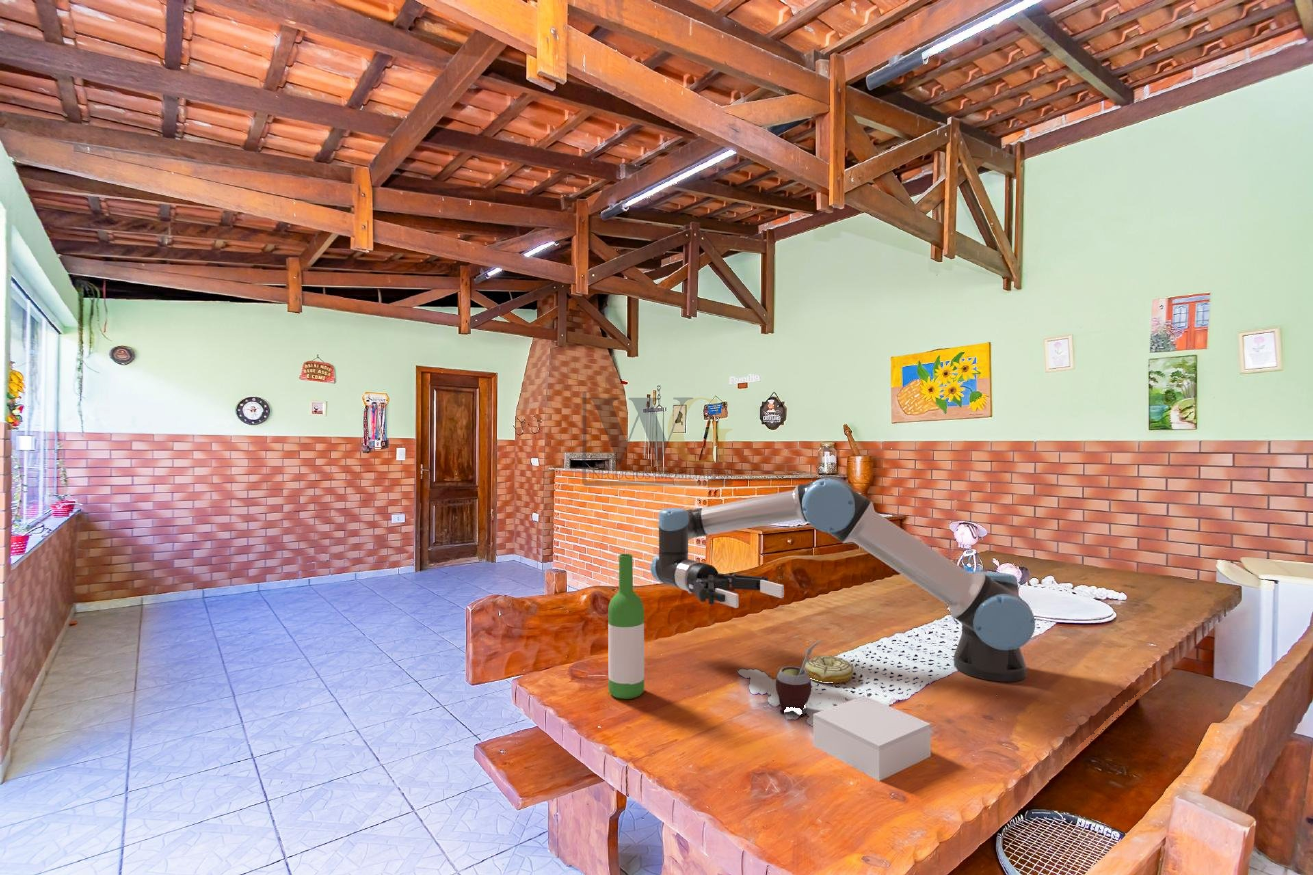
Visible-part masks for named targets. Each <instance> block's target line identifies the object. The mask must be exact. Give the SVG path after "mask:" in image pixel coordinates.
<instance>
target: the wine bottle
mask: <svg viewBox="0 0 1313 875" xmlns="http://www.w3.org/2000/svg"><path fill="white" fill-rule="evenodd" d="M633 568H634V567H633V555H632V554H631V553H620V554H619V556H618V592H617V593H615V594H614V596H613V597H612V598H611V599H610V601H609V604H608V611H607V612H608V614H607V616H608V617H607V618H608V620H607V621H608V622H607V624H608V625H607V628H608V629H607V630H608V631H607V632H608V633H607V635H608V636H607V638H608V639H607V640H608V641H607V642H608V643H607V644H608V650H607V652H608V653H607V654H608V658H607V660H608V661H607V662H608V668H607V669H608V691H609V693H610V695H611V696H612V697H613V698H616V699H620V700H631V699H634V698H637V697H640V696H641V695H642V694H643V692H644V689H645V622H644V621H645V618H644V616H645V613H644V612H645V609H644V604H643V601H642V599H641V598H640V596H639V595H638V594H637V593H636V592H635V591H634V586H633V585H634V575H633V571H634V570H633Z"/></svg>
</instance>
